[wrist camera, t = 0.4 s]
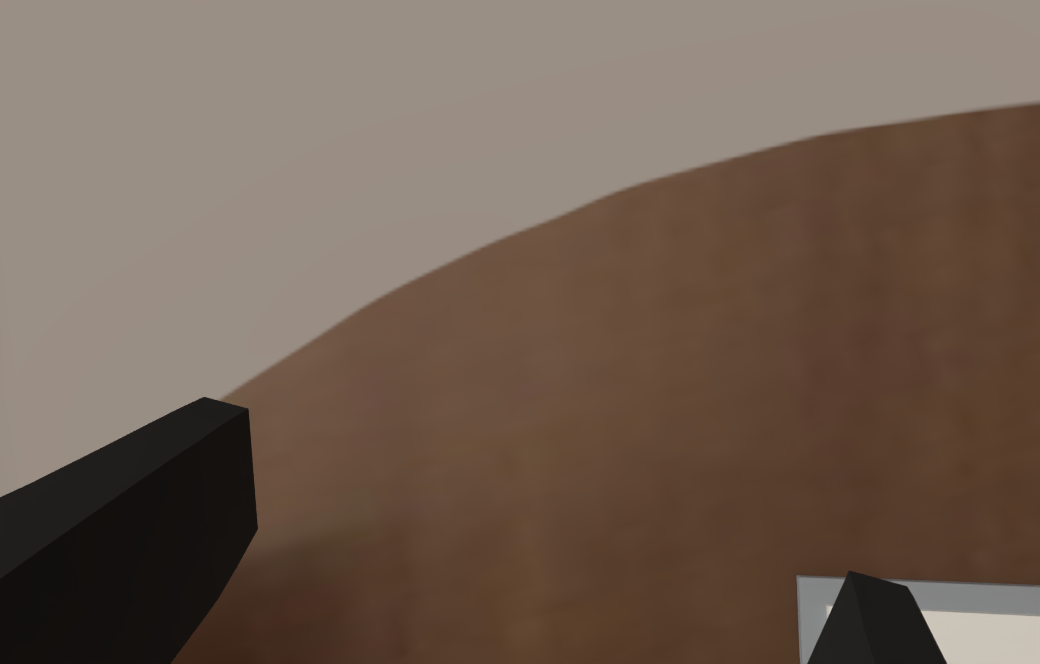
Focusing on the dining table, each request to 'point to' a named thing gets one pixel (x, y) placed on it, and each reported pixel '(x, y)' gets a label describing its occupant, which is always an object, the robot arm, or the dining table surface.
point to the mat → (926, 593)
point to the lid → (984, 636)
